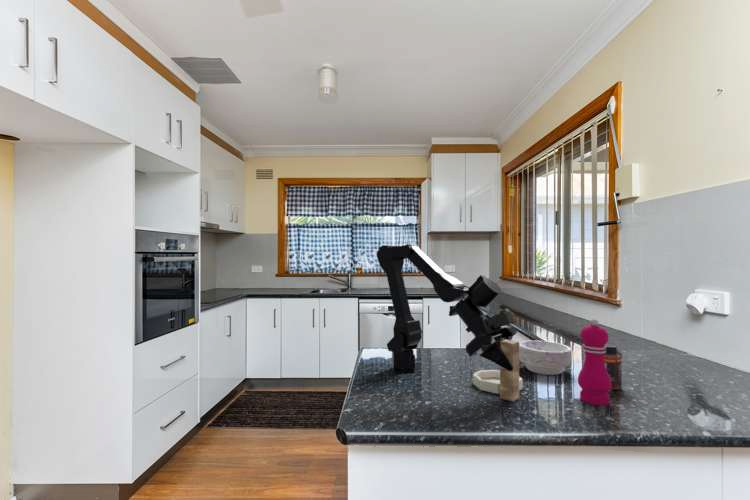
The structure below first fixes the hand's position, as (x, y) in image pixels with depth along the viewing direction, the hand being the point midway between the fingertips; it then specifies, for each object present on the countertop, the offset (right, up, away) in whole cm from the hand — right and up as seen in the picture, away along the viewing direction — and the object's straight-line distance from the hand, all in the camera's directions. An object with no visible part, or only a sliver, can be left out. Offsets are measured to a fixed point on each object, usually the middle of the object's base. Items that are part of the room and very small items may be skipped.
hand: (515, 368), depth 94 cm
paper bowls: (+18, -9, +24) cm, 32 cm away
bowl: (-1, -8, +10) cm, 13 cm away
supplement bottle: (+29, -8, +10) cm, 32 cm away
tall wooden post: (-1, -8, +1) cm, 8 cm away
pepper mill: (+19, -8, -1) cm, 21 cm away
